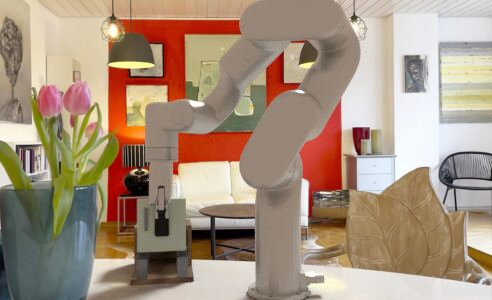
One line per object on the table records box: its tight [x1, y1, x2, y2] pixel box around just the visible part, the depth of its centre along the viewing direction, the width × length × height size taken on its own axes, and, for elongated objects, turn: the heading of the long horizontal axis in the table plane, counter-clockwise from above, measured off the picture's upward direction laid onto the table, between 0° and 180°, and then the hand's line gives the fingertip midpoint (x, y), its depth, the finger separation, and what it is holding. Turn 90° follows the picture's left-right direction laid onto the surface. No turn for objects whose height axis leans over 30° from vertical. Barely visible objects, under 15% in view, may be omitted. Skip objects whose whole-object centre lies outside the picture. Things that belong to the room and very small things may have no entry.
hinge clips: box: [136, 251, 188, 280], centre depth 97 cm, size 11×6×4 cm, turn 100°
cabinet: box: [129, 218, 195, 286], centre depth 103 cm, size 14×20×11 cm
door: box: [136, 197, 187, 253], centre depth 96 cm, size 11×3×12 cm, turn 100°
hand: (162, 234), depth 97 cm, fingers closed on door, 2 cm apart
